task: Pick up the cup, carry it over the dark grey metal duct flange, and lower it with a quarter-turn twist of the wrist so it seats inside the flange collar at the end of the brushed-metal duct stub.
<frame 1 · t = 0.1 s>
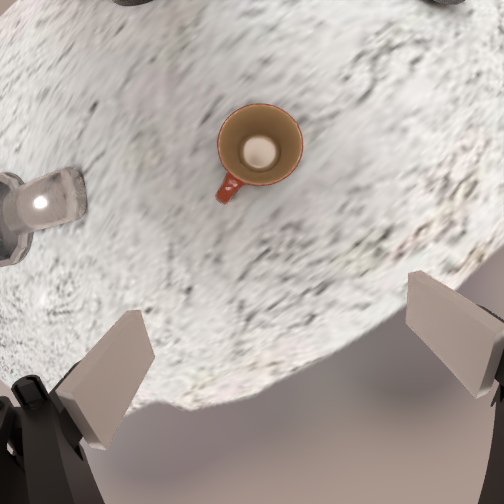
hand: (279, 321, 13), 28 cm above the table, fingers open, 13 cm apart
flange: (5, 219, 40), on the table
mug: (252, 163, 38), on the table
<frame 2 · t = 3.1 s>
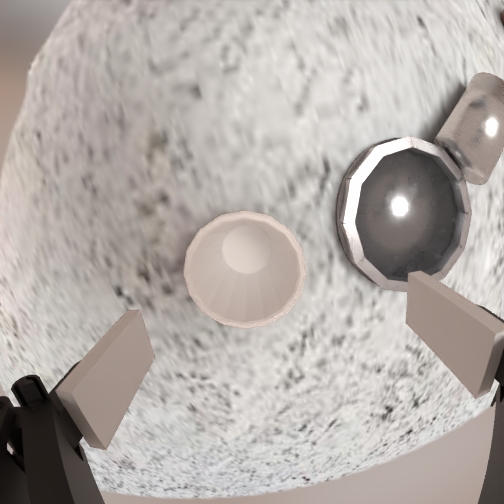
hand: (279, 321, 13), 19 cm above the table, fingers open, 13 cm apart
flange: (405, 214, 31), on the table
cup: (247, 248, 32), on the table
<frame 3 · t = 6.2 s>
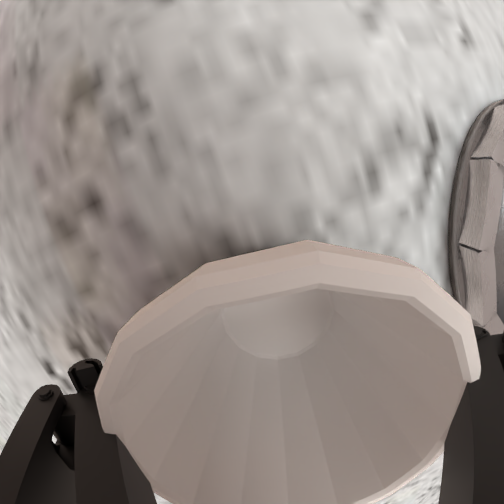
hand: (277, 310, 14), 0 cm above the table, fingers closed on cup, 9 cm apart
cup: (277, 305, 15), on the table, touching gripper
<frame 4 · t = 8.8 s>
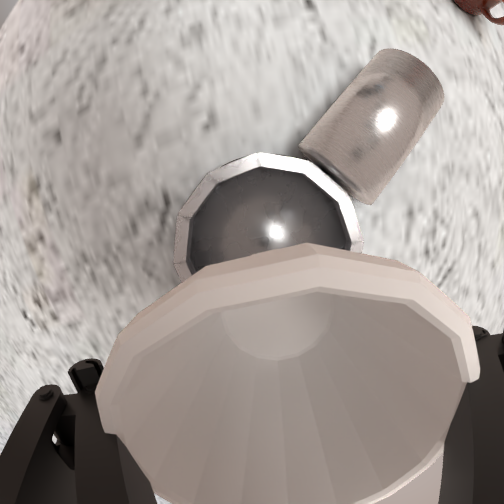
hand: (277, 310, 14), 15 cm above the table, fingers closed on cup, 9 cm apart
flange: (268, 246, 29), on the table
cup: (277, 306, 15), point 15 cm above the table, touching gripper
mug: (464, 7, 20), on the table
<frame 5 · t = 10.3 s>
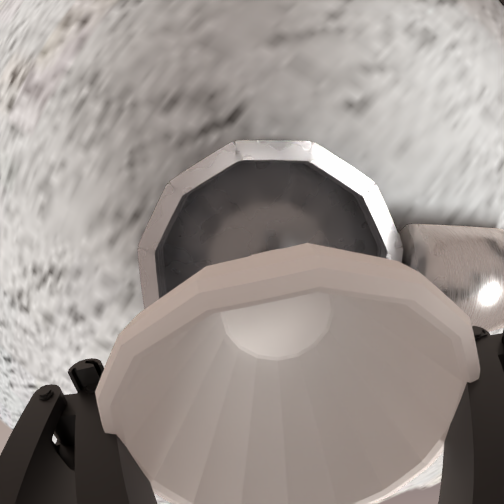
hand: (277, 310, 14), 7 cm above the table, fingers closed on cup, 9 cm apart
flange: (271, 270, 21), on the table
cup: (277, 306, 15), point 6 cm above the table, touching gripper
when the fingers open (3 cm above the table, at t = 11.6 s): cup drops 1 cm, resting on flange.
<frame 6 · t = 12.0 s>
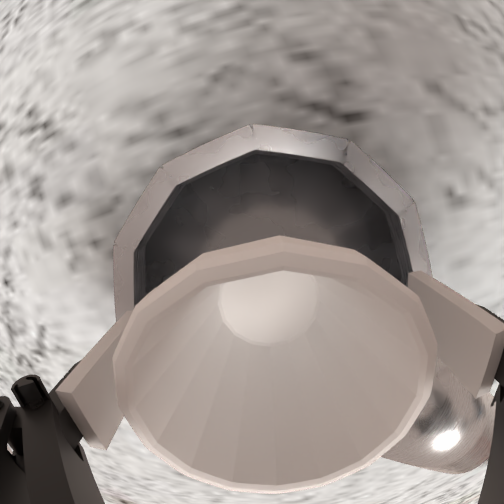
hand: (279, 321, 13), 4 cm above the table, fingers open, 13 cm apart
flange: (274, 289, 17), on the table
cup: (268, 297, 16), point 1 cm above the table, touching flange
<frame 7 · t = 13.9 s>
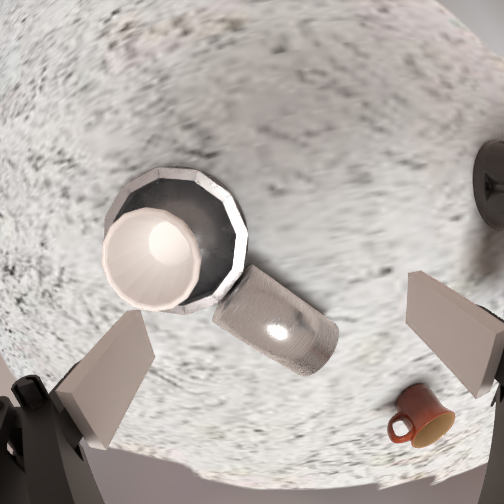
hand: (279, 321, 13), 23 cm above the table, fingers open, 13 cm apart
flange: (175, 239, 35), on the table
cup: (171, 242, 35), point 1 cm above the table, touching flange
mug: (403, 398, 43), on the table
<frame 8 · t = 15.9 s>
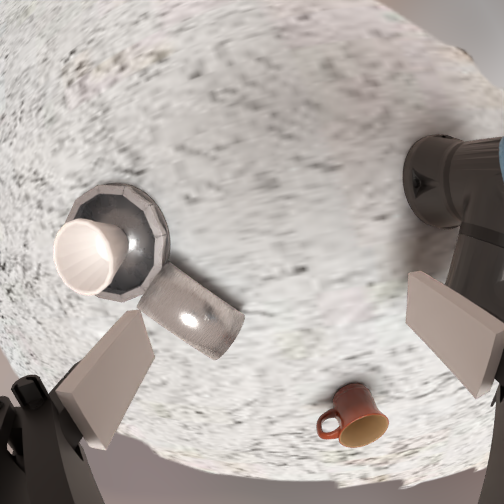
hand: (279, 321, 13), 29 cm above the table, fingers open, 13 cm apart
flange: (116, 241, 42), on the table
cup: (112, 243, 41), point 1 cm above the table, touching flange
mug: (341, 396, 48), on the table
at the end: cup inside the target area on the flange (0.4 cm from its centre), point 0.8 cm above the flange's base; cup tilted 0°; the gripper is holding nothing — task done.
